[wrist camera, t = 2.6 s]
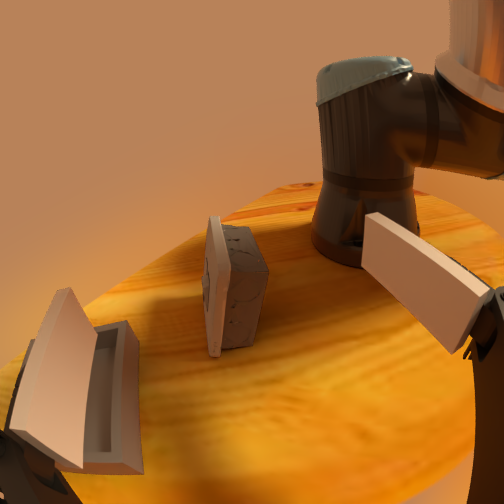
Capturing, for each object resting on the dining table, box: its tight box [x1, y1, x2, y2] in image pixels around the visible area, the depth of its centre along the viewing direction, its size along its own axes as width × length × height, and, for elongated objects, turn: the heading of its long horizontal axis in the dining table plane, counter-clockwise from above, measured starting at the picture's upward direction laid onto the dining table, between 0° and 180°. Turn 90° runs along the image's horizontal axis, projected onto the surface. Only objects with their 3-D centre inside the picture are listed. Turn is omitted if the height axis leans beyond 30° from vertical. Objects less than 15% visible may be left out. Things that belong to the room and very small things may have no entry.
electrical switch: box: [202, 216, 269, 357], centre depth 23 cm, size 9×5×9 cm, turn 11°
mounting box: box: [12, 320, 144, 475], centre depth 16 cm, size 13×14×3 cm
